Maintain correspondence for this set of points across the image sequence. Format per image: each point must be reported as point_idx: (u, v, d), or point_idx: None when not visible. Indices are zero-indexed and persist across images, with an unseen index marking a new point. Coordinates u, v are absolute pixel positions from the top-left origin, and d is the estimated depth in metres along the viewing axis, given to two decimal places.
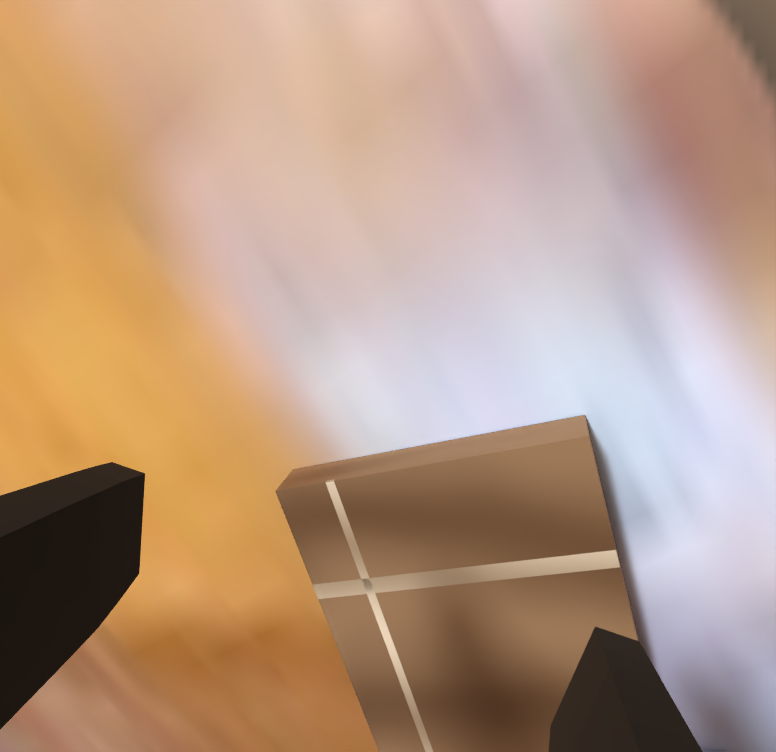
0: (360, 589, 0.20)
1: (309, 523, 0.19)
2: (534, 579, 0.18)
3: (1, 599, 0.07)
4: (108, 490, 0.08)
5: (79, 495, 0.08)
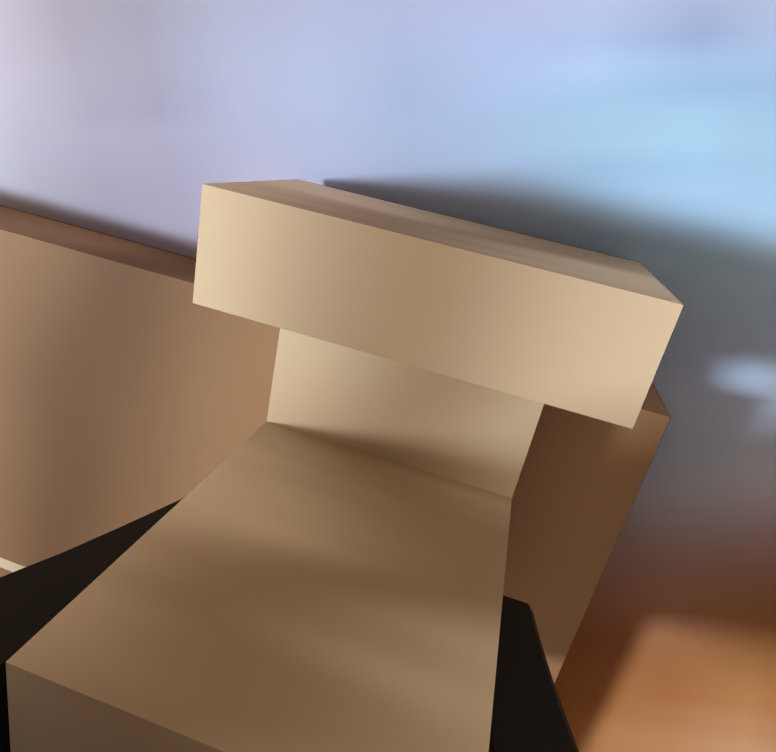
0: None
1: None
2: None
3: None
4: None
5: None
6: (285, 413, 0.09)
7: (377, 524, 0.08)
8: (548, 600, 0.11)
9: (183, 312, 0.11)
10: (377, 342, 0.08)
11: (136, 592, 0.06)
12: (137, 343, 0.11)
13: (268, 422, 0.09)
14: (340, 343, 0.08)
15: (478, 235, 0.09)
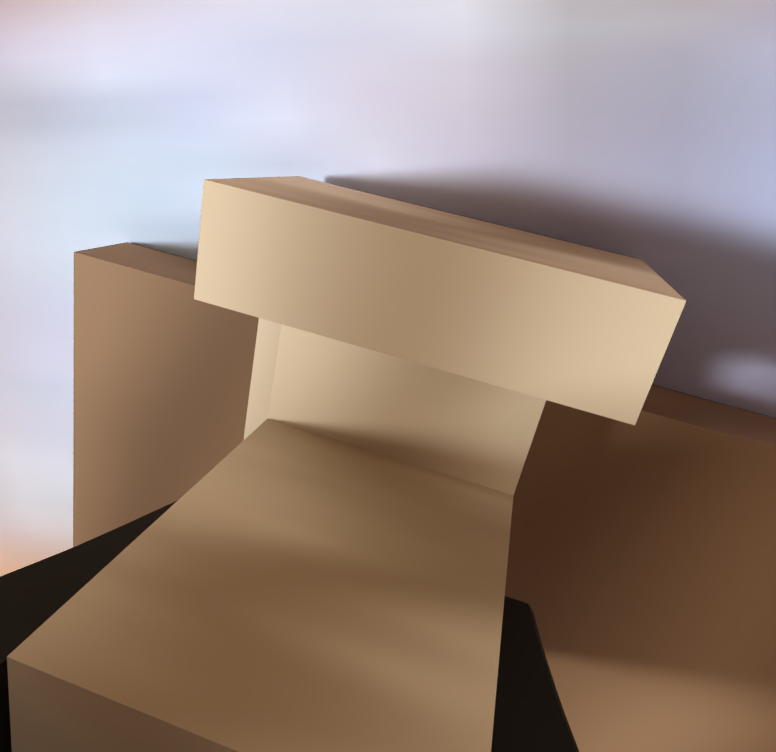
0: None
1: None
2: None
3: None
4: None
5: None
6: (286, 410, 0.09)
7: (380, 521, 0.08)
8: None
9: (729, 471, 0.09)
10: (379, 338, 0.08)
11: (137, 587, 0.06)
12: (650, 499, 0.10)
13: (269, 419, 0.09)
14: (341, 340, 0.08)
15: (480, 232, 0.08)
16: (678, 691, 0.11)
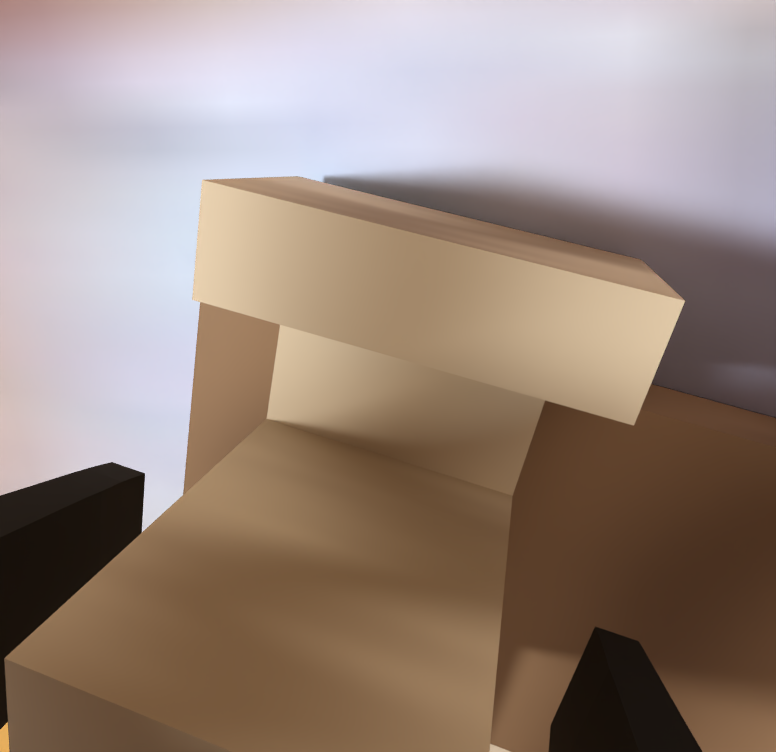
0: None
1: None
2: None
3: (1, 599, 0.07)
4: (108, 490, 0.08)
5: (79, 495, 0.08)
6: (285, 410, 0.09)
7: (378, 522, 0.08)
8: None
9: None
10: (377, 339, 0.08)
11: (135, 588, 0.06)
12: None
13: (267, 419, 0.09)
14: (340, 339, 0.08)
15: (478, 232, 0.08)
16: None
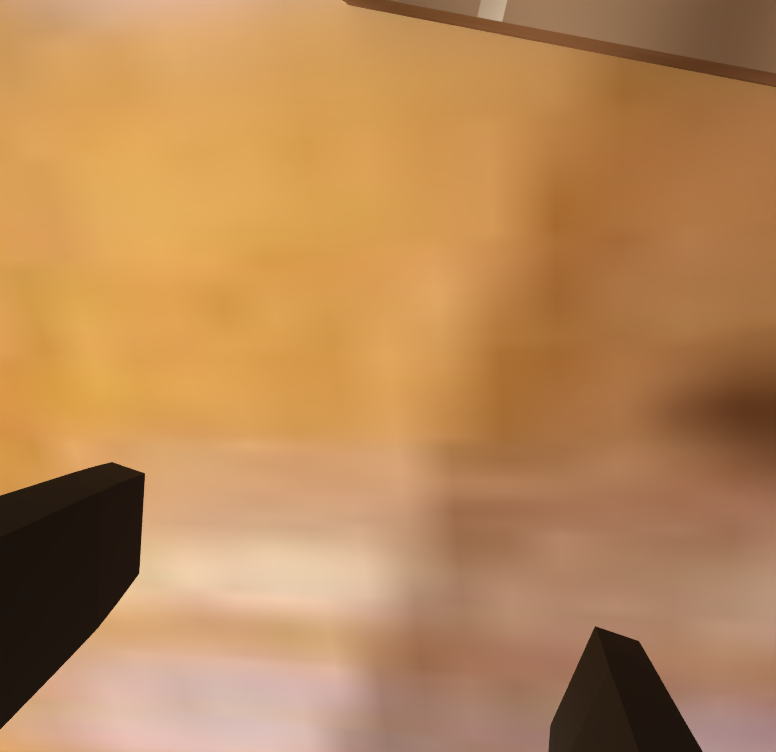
0: None
1: None
2: None
3: (1, 599, 0.07)
4: (108, 490, 0.08)
5: (79, 495, 0.08)
6: None
7: None
8: None
9: None
10: None
11: None
12: None
13: None
14: None
15: None
16: None
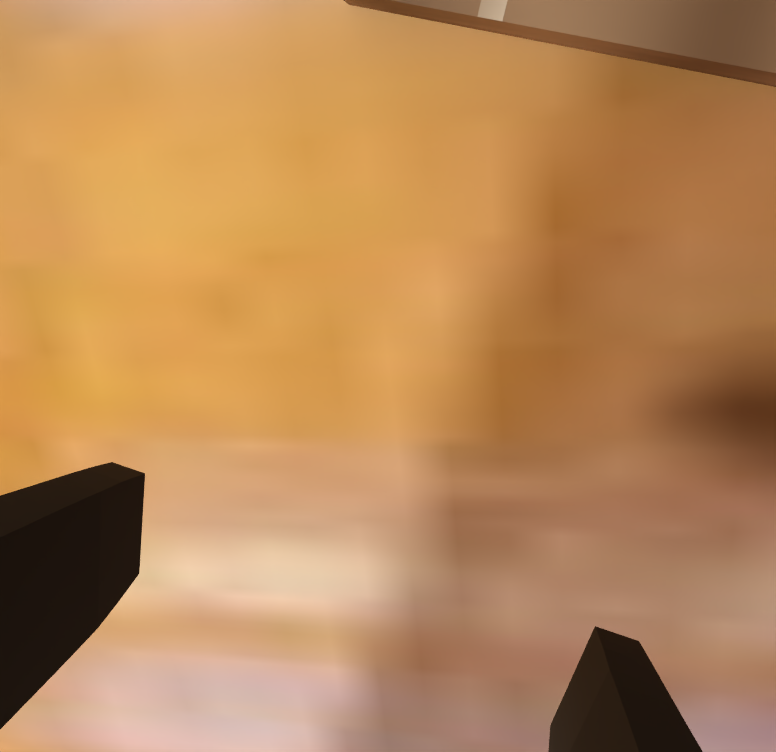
0: None
1: None
2: None
3: (1, 599, 0.07)
4: (108, 490, 0.08)
5: (79, 495, 0.08)
6: None
7: None
8: None
9: None
10: None
11: None
12: None
13: None
14: None
15: None
16: None
